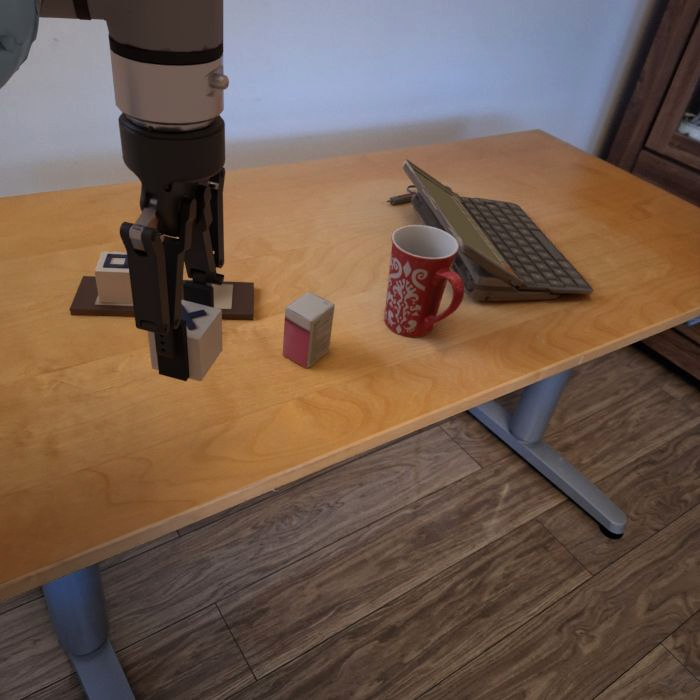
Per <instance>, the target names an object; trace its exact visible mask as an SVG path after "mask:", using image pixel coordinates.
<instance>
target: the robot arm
mask: <svg viewBox="0 0 700 700" xmlns="http://www.w3.org/2000/svg"><path fill="white" fill-rule="evenodd" d="M40 18H43V19H44V18H45V19H47V18H48V19H66V20H67V19H69V20H79V21H80V20H81V21H92V20H98V21H99V20H101V21H105V23H106V27H107V30H108V44H109V54H110V63H111V73H112V82H113V94H114V101H115V106H116V107H117V109H118V110H120V112H121V114H119V116H118V119H117V120H118V128H119V138H120V145H121V153H122V160H123V163H124V165H125V166H126V167H127V169H128V170H129V171H130V172H132V173H133V174H134V175H135V176H136V177H137V179H138V180H139V181H140V184H141V188H140V189H141V190H140V197H139V208H140V211H141V213H140V214H139V216H138V217H137V219H136V221H135V222H134V223H133V222H129V221H123V222H122V223H121V225H120V227H119V236H120V239H121V241H122V244H123V246H124V248H125V252H127V258H128V266H129V274H130V283H131V291H132V299H133V308H134V316H133V317H134V322H135V324H134V325H135V327H136V329H139V330H143V331H146V332H148V331H150V332H153V333H154V336H155V342H156V343H155V345H156V352H157V360H158V370H157V371H158V375H160V376H164V377H167V378H171V379H175V380H179V381H183V382H187V381H188V380H189V379H190V378H189V377H190V375H189V360H188V345H187V326H186V320H182V319H180V318H181V303H182V287H183V293H184V300H185V301H189V302H193V303H197V304H201V305H205V306H209V307H214V289H213V287H212V284H216V285H220V286H221V285H222V284H223V281H225V275H224V274H222V273H217V268H218V269H222V268H223V266H224V264H225V230H224V229H225V227H224V226H225V225H224V224H225V223H224V187H225V181H226V180H225V179H226V168H225V167H224V166H225V163H226V122H225V120H224V119H223V117H222V116H221V114H222V113H223V111H224V109H225V90H227V89H228V88H229V86H230V80H229V77H228V76H227V75H225V73H224V0H0V90H1V89H2V88H3V87H4V86H6V85H7V84H8V82H9V81H10V79H11V78H12V77H13V76H14V74H16V72H17V71H19V70H20V67H21V66H22V65H23V64H24V63H25V62H26V61H27V59H28V57H29V54H30V52H31V48H32V46H33V43H34V42H35V41H36V40H37V36H38V31H39V25H40ZM184 269H185V270H184ZM184 271H186V276H187V278H188V279H190V280H193V282H191V281H187V280H188V279H185V280H186V282H185V283H184V284H183V280H184Z"/></svg>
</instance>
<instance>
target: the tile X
mask: <svg viewBox="0 0 700 700" xmlns="http://www.w3.org/2000/svg"><path fill="white" fill-rule="evenodd" d="M180 319H182V320H186V326H187V345H188V360H189V375H190V377H189V378H188V379H191V380H194V381H198V382H203V380H204V378H205V377H206V375H207V374H208V372H209V371H210V369H212V366H213V365H214V363H215V362H216V360H217V359H218V358H219V357H220V355H221V353H222V352H223V348H224V347H223V319H222V310H221V309H218V308H214V307H209V306H205V305H201V304H197V303H193V302H189V301H185V300H182V303H181V318H180ZM147 338H148V339H147V340H148V347H149V355H150V356H149V357H150V363H151V365H150V366H151V369H152V370H156V371H159V370H158V360H157V352H156V345H155V343H156V342H155V336H154V333H153V332H150V331H147Z"/></svg>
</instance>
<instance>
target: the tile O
mask: <svg viewBox="0 0 700 700" xmlns="http://www.w3.org/2000/svg"><path fill="white" fill-rule="evenodd" d="M93 271H94V276H95V278H96V283H97V289H98V295H99V301H100V302H103V303H133V299H132V291H131V283H130V274H129V266H128V258H127V251H125V252H124V251H105V250H104V251H101V253H100V256H99V258H98V261H97V264H96V266H95V268H94V270H93Z"/></svg>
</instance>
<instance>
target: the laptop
mask: <svg viewBox="0 0 700 700" xmlns="http://www.w3.org/2000/svg"><path fill="white" fill-rule="evenodd" d="M401 167H402V169H403V171H404V173H405V174H406V176H407V177H408V179H409V180H410V182H411V183H412V185H414V186H415V187H416V188H415V190H416V191H415V192H416V193H415V194H414V195H413V197H412V200H411V204H412V209H413V210H414V212H415V214H416V215H417V217H418V218H419V220H420V222H421V223H422V225H425V226H431V227H435V228H438V229H441V230H443V231H445V232H447V233H449V234H450V235H452V236H453V237H454V238H455V239H456V240H457V242H458V244H459V249H458V251H457V253H456V254H455V257H454V261H453V264H452V267H451V271H454V272H456V273H457V274H458V275H459V276H460V277H461V279H462V281H463V284H464V293H465V294H466V295H467V296H468V298H470V299H472V300H474V301H489V302H494V301H495V302H496V301H497V302H502V301H503V302H504V301H505V302H506V301H532V300H534V301H536V300H553V299H557V298H559V297H560V296H561V294H578V295H579V294H582V295H583V294H584V295H592V294H593V293H594V289H593V287H592V286H591V285H590V284H589V282H588V281H587V280H586V278H584V276H583V275H582V273H580V271H578V270H577V268H576V267H575V266H574V265H573V264H572V263H571V262H570V261H569V260H568V259H567V257H566V256H565V255H563V253H562V252H561V251H560V250H559V248H557V247H556V246H555V244H554V243H553V242H552V241H551V240H550V239H549V238H548V237H547V236H546V234H545V233H544V232H543V231H542V230H541V228H540V227H539V226H538V225H537V224H536V223H535V222H534V221H533V219H532V218H531V217H530V216H529V215H528V214H527V213H526V212H525V210H524V209H523V208H522V207H521V206H520V205H519V204H517V203H515V202H510V201H503V200H497V199H490V198H481V197H468V196H460V195H459V194H458V193H456V192H454V191H453V190H452V191H451V190H450V189H448V188H447V187H446V186H447V185H445V184H444V183H442V182H441V181H439V180H438V179H436V178H435V177H433V176H432V175H430V174H429V173H427V172H426V171H425V170H424V169H422V168H421V167H419V166H418V165H416V164H415V163H413V162H412V161H410V160H409V159H405V160H404V162H403V164H402V165H401Z"/></svg>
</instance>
